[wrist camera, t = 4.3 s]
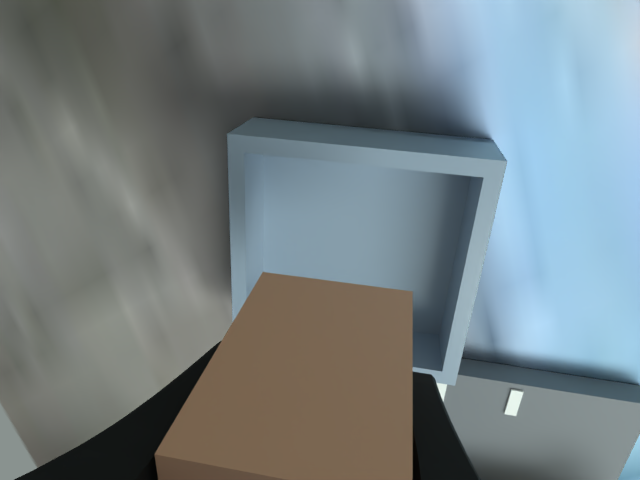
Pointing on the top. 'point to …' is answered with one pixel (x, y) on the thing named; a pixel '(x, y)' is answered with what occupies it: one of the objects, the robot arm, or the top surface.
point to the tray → (367, 218)
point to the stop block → (302, 389)
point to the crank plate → (541, 422)
